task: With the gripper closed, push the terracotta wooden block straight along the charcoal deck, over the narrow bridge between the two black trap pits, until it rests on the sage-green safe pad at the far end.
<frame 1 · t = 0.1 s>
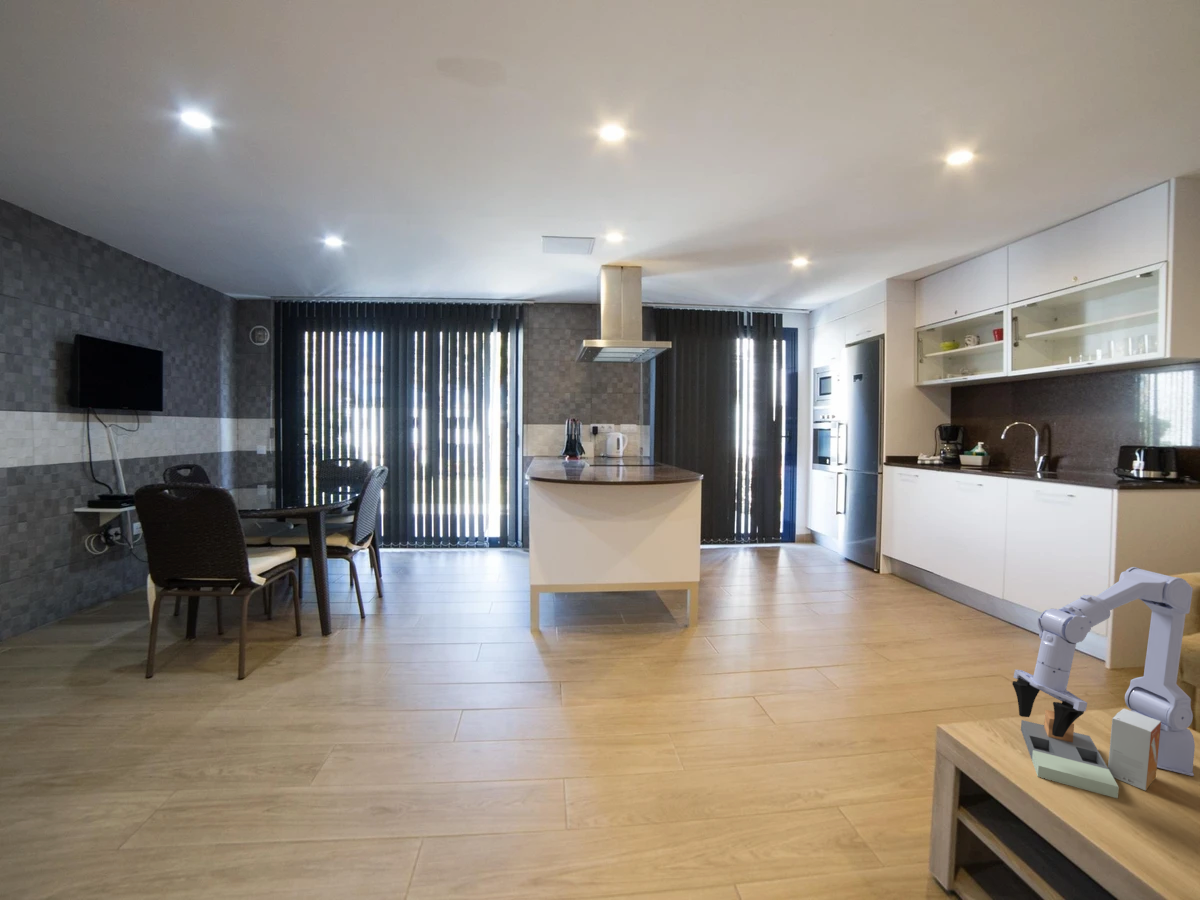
hand: (1040, 725, 120), 11 cm above the table, tool pointing down, fingers open, 7 cm apart
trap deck: (1064, 760, 125), on the table
small box: (1131, 777, 119), on the table
orange block: (1058, 734, 130), point 2 cm above the table, touching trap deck
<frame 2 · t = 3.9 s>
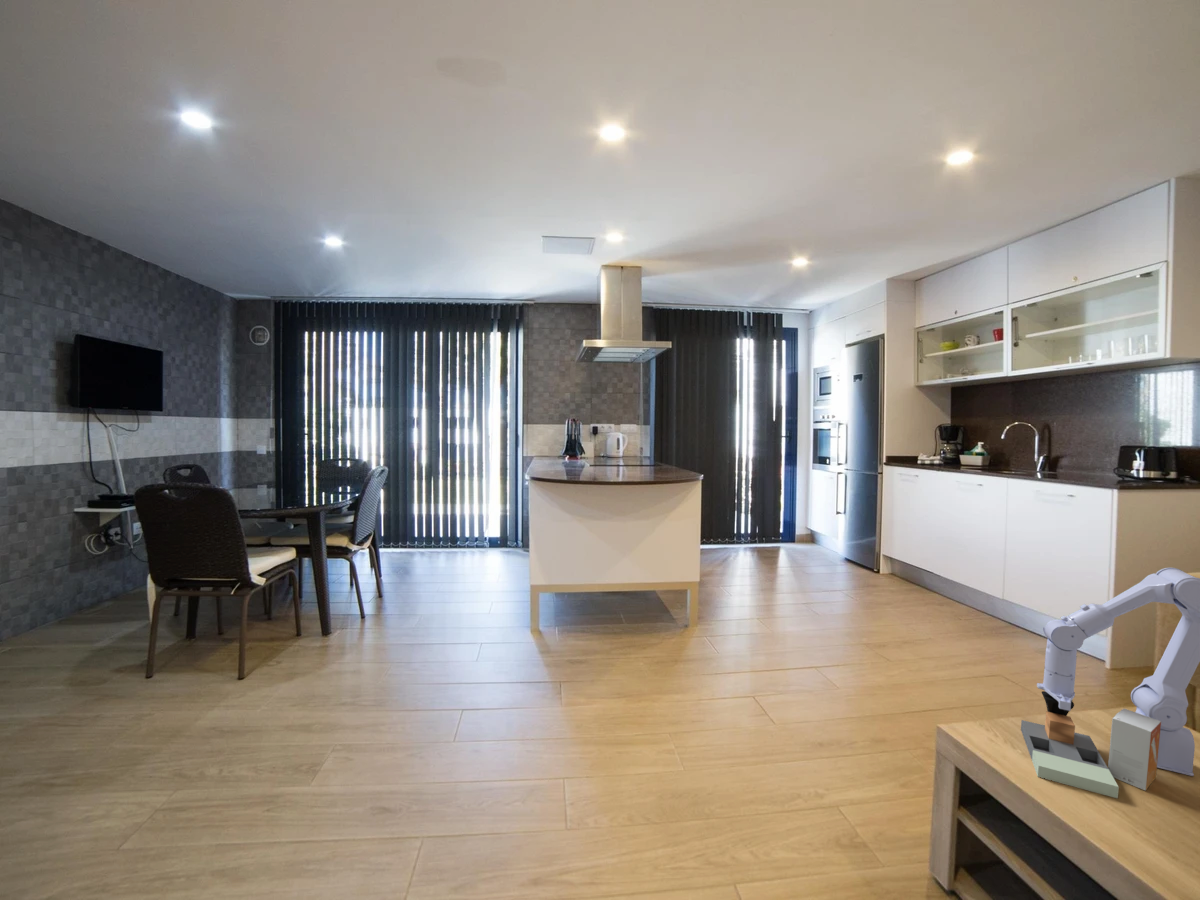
hand: (1055, 725, 133), 3 cm above the table, tool pointing down, fingers closed
orange block: (1058, 736, 130), point 3 cm above the table, touching gripper
everything else where it was.
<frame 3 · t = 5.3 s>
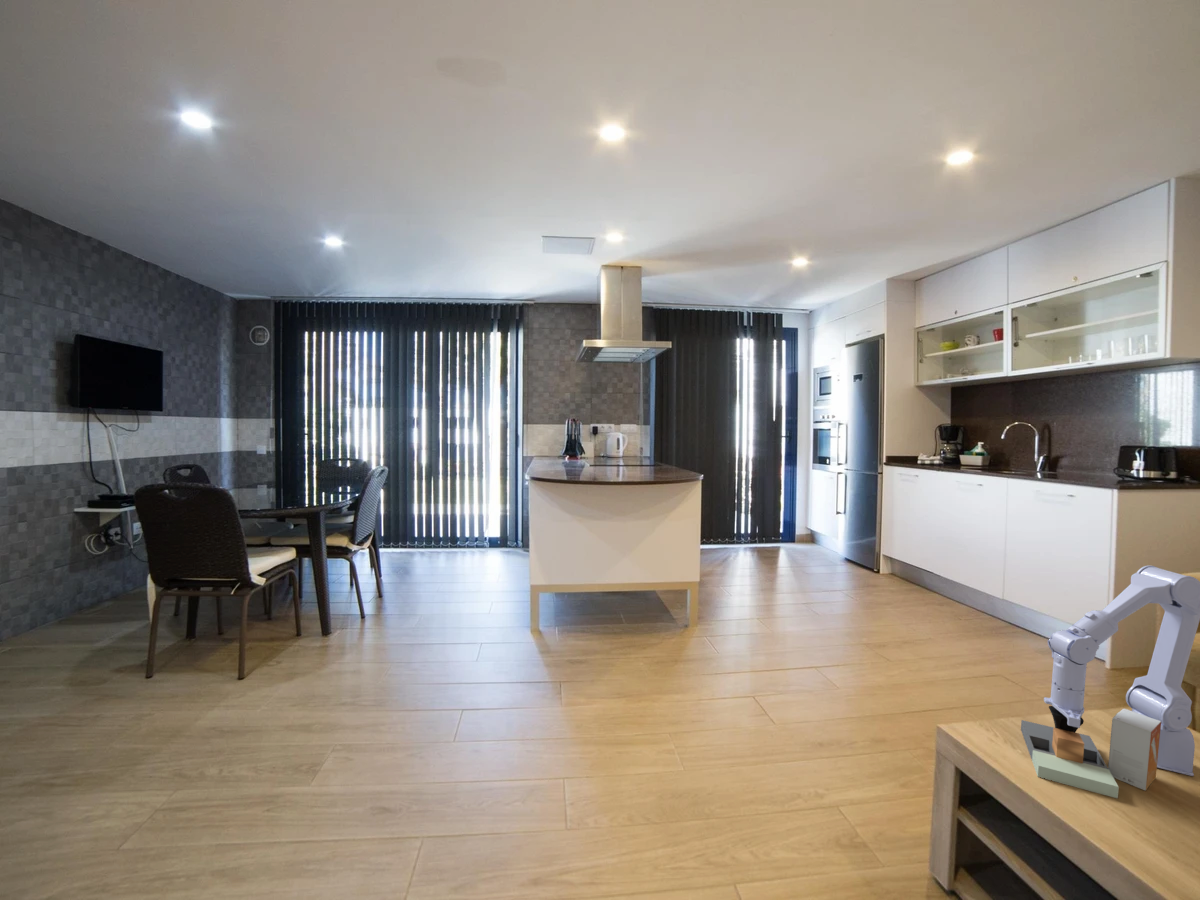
hand: (1063, 742, 126), 3 cm above the table, tool pointing down, fingers closed
orange block: (1067, 754, 123), point 3 cm above the table, touching gripper, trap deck
everything else where it was.
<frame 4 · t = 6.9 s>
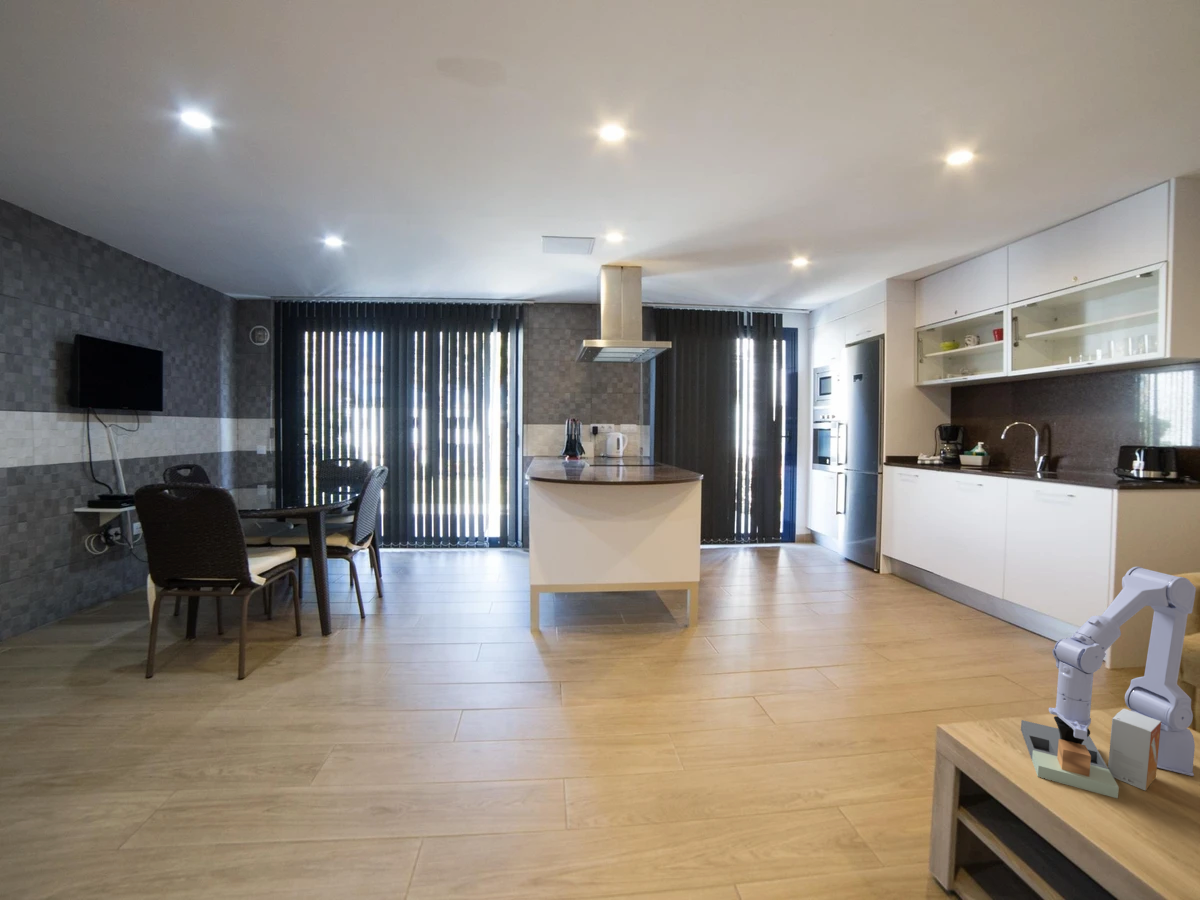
hand: (1069, 754, 121), 3 cm above the table, tool pointing down, fingers closed
orange block: (1072, 767, 118), point 3 cm above the table, touching gripper, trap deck
everything else where it was.
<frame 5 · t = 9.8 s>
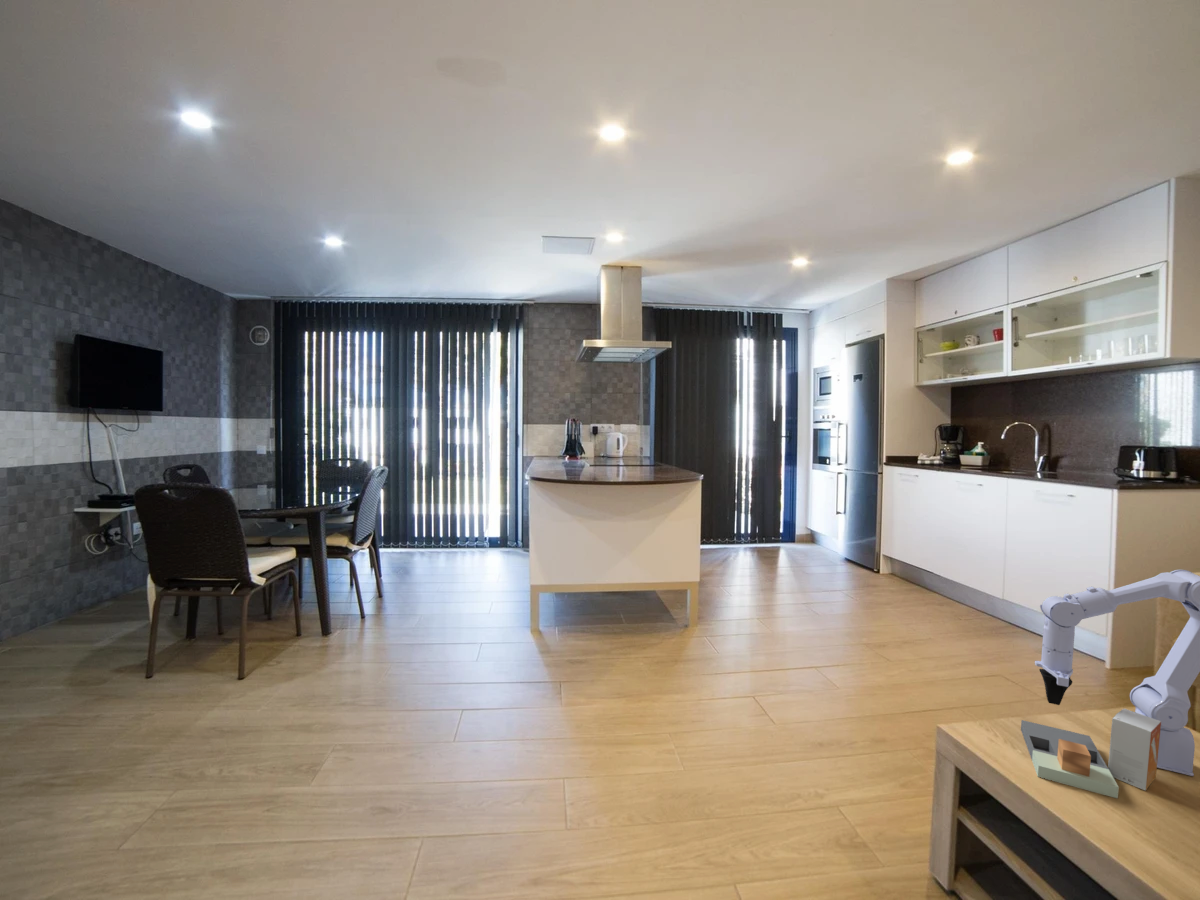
hand: (1053, 702, 132), 9 cm above the table, tool pointing down, fingers closed
orange block: (1072, 767, 118), point 2 cm above the table, touching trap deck
everything else where it was.
at the end: orange block 0.5 cm from the target spot, point 2.5 cm above the table; orange block tilted 0° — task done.
